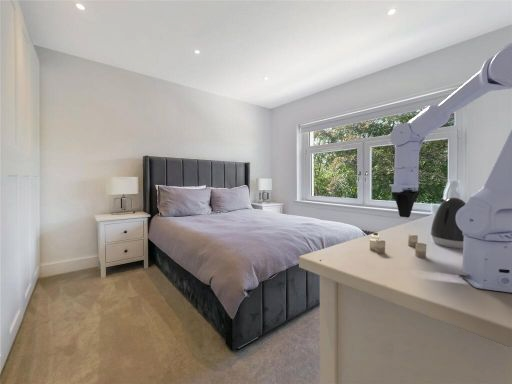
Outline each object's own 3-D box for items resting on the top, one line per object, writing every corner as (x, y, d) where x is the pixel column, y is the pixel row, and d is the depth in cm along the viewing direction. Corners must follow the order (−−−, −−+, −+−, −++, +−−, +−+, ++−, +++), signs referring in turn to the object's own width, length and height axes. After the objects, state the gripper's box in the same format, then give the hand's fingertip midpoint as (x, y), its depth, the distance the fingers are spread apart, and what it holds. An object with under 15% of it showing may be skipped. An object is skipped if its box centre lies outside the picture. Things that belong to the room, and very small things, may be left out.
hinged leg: (371, 241, 71) (371, 232, 71) (379, 242, 70) (379, 232, 70) (369, 249, 64) (369, 238, 64) (377, 250, 63) (378, 239, 63)
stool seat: (433, 265, 55) (434, 247, 55) (372, 258, 60) (373, 242, 59) (415, 248, 68) (416, 234, 68) (367, 244, 73) (367, 230, 73)
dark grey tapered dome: (456, 244, 73) (458, 196, 72) (485, 254, 63) (488, 199, 62) (422, 243, 74) (424, 196, 73) (445, 253, 64) (447, 198, 63)
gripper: (399, 169, 72) (398, 212, 73) (380, 168, 63) (378, 217, 64) (427, 169, 67) (425, 215, 68) (409, 167, 58) (407, 221, 58)
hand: (404, 216), depth 65 cm, fingers closed
